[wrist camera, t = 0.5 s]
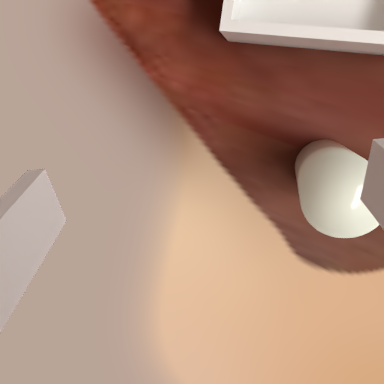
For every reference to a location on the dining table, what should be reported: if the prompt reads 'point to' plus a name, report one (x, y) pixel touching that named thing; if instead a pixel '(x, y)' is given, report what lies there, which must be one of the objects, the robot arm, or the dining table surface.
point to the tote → (307, 24)
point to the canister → (333, 189)
